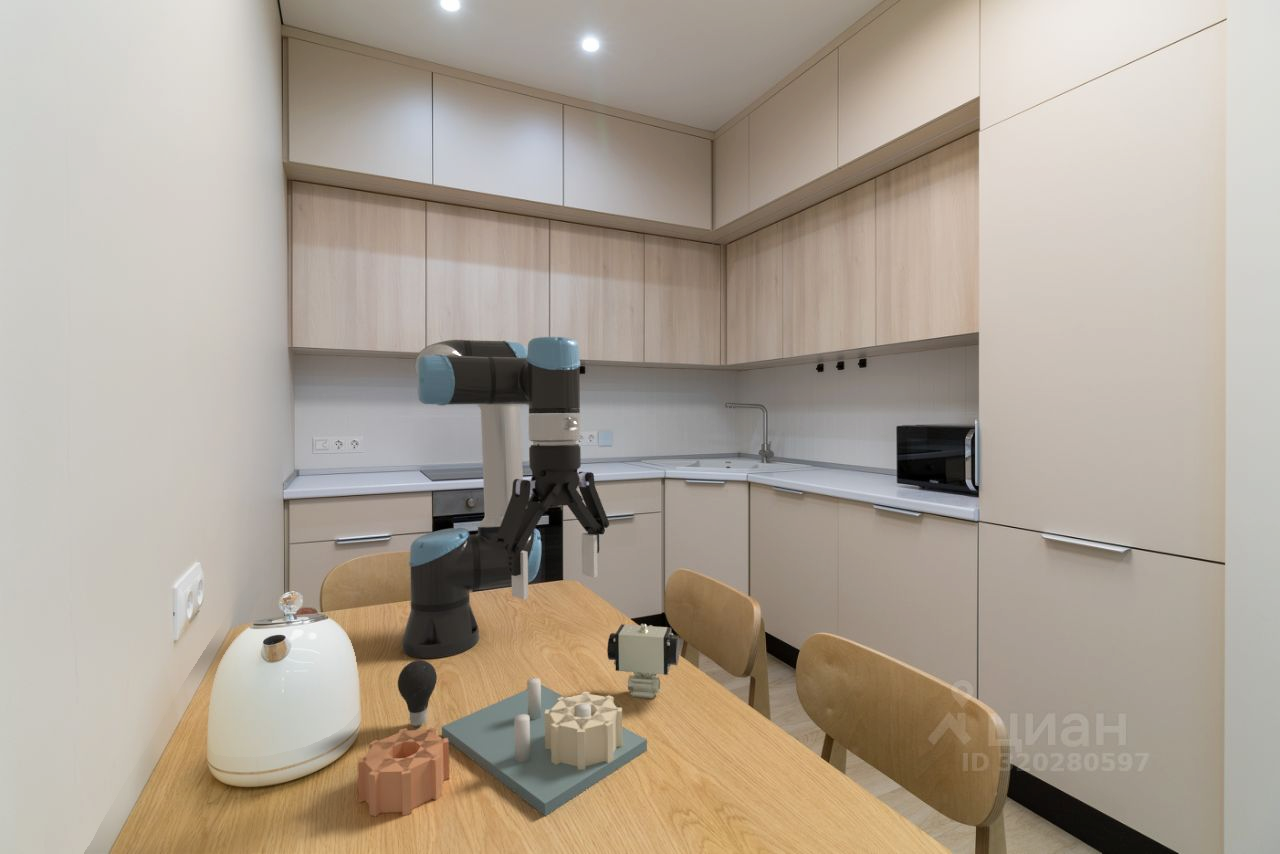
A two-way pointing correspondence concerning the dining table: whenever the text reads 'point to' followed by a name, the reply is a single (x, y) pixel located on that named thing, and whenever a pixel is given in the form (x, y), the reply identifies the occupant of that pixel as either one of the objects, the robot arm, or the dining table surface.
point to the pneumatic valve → (643, 656)
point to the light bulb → (417, 689)
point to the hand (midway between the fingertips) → (557, 585)
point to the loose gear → (403, 771)
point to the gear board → (547, 743)
